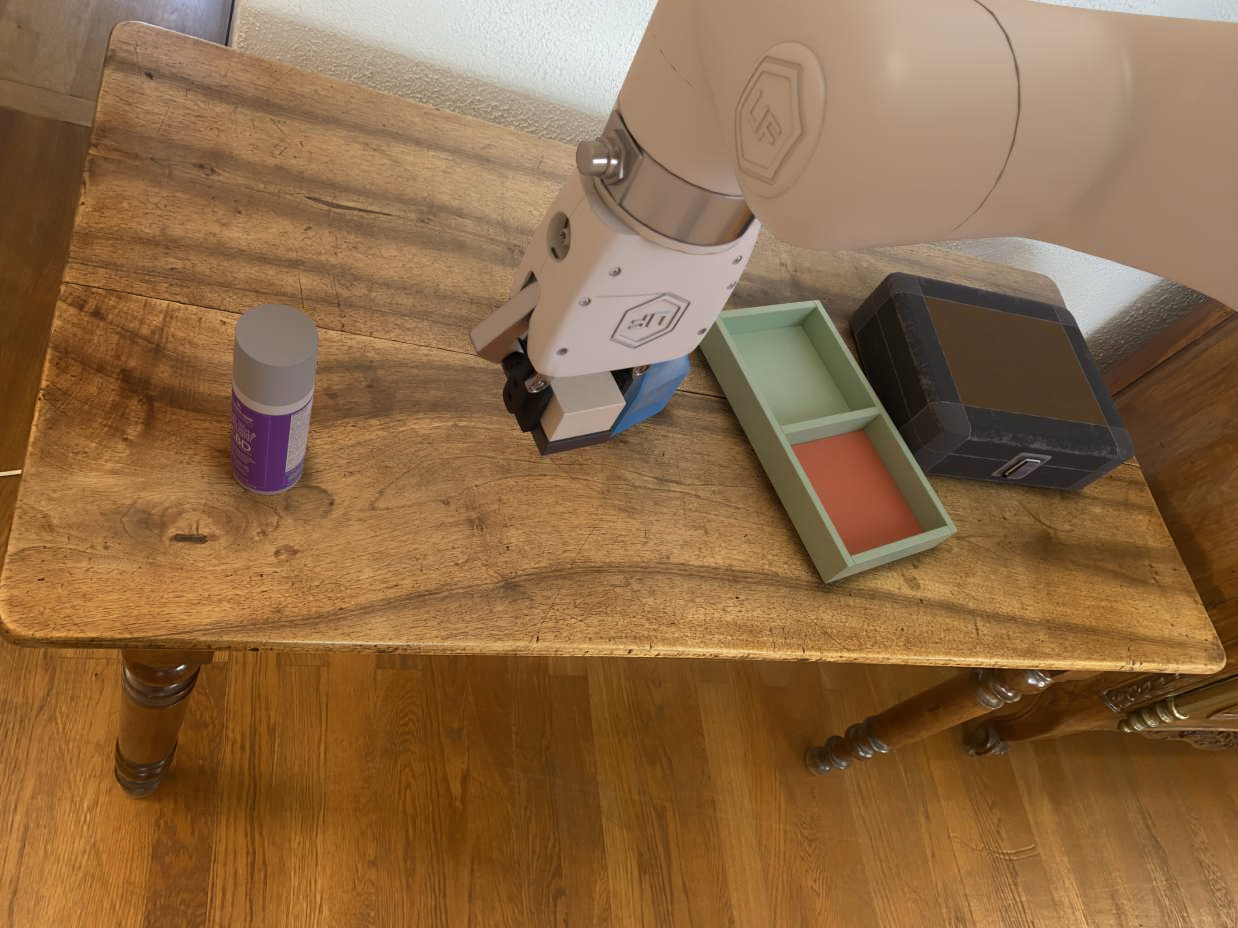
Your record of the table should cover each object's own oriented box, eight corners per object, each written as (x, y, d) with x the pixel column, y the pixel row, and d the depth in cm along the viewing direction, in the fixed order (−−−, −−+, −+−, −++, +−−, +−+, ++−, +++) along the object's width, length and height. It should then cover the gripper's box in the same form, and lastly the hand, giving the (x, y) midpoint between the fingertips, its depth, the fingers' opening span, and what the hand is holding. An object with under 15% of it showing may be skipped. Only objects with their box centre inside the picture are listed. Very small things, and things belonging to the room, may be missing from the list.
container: (217, 476, 60) (215, 342, 48) (254, 427, 62) (261, 289, 51) (281, 506, 60) (295, 381, 48) (315, 456, 63) (336, 326, 51)
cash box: (893, 479, 83) (946, 436, 77) (844, 314, 93) (887, 265, 87) (1086, 499, 92) (1147, 463, 86) (1022, 347, 102) (1072, 304, 96)
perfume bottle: (619, 358, 78) (673, 268, 69) (661, 411, 77) (722, 326, 68) (567, 382, 75) (616, 290, 65) (610, 437, 74) (667, 352, 64)
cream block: (606, 443, 52) (631, 405, 49) (540, 456, 50) (562, 418, 47) (550, 324, 55) (569, 281, 52) (485, 332, 53) (502, 288, 50)
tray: (800, 322, 90) (819, 299, 87) (932, 547, 81) (958, 530, 78) (693, 335, 83) (710, 312, 81) (824, 583, 74) (848, 566, 71)
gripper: (541, 244, 32) (443, 487, 46) (868, 221, 40) (699, 432, 54) (470, 101, 34) (398, 373, 49) (791, 107, 43) (649, 337, 57)
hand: (558, 402), depth 51 cm, fingers closed on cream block, 4 cm apart
